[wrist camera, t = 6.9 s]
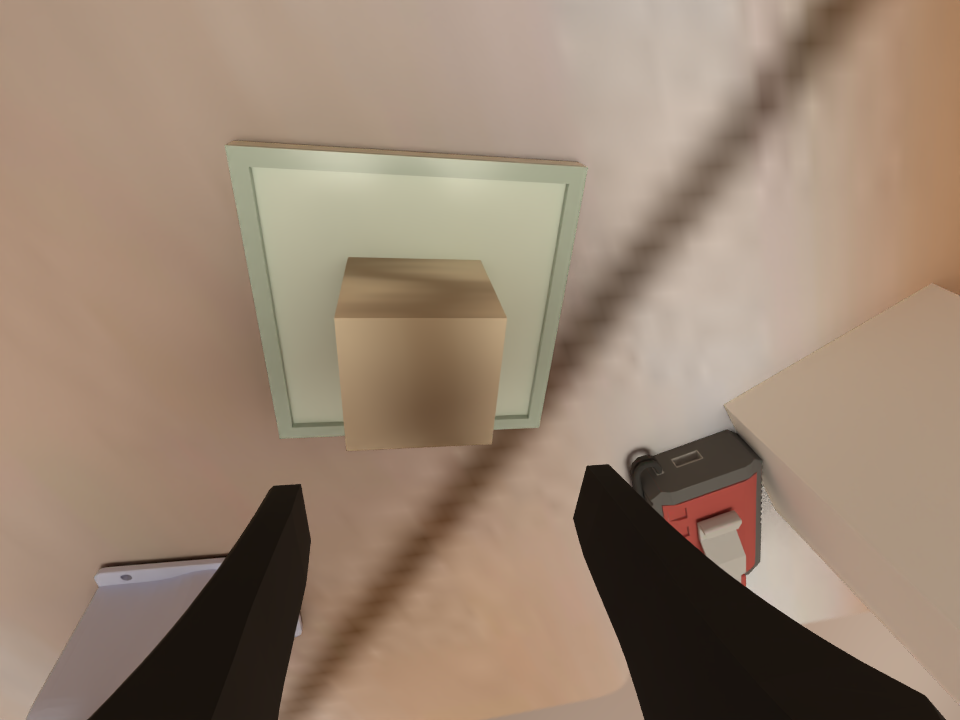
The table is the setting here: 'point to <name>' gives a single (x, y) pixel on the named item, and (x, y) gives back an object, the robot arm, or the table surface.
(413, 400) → the beech cube
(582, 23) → the table surface
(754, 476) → the walkie-talkie
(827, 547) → the milk
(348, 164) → the sage tile
